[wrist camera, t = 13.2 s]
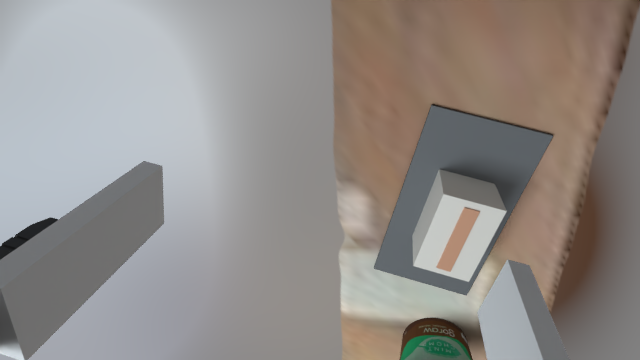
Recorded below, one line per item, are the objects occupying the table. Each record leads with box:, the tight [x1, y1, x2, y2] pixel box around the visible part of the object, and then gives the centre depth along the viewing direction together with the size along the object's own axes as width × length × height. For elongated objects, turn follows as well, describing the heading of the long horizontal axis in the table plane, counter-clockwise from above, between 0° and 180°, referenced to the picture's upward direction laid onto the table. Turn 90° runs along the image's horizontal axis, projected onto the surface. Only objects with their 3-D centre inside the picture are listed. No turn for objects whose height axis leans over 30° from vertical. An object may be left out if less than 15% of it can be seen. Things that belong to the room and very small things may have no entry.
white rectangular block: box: [412, 169, 507, 282], centre depth 44 cm, size 10×6×6 cm, turn 168°
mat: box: [374, 105, 553, 295], centre depth 46 cm, size 24×13×1 cm, turn 168°
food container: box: [400, 318, 473, 360], centre depth 52 cm, size 12×6×10 cm, turn 103°
